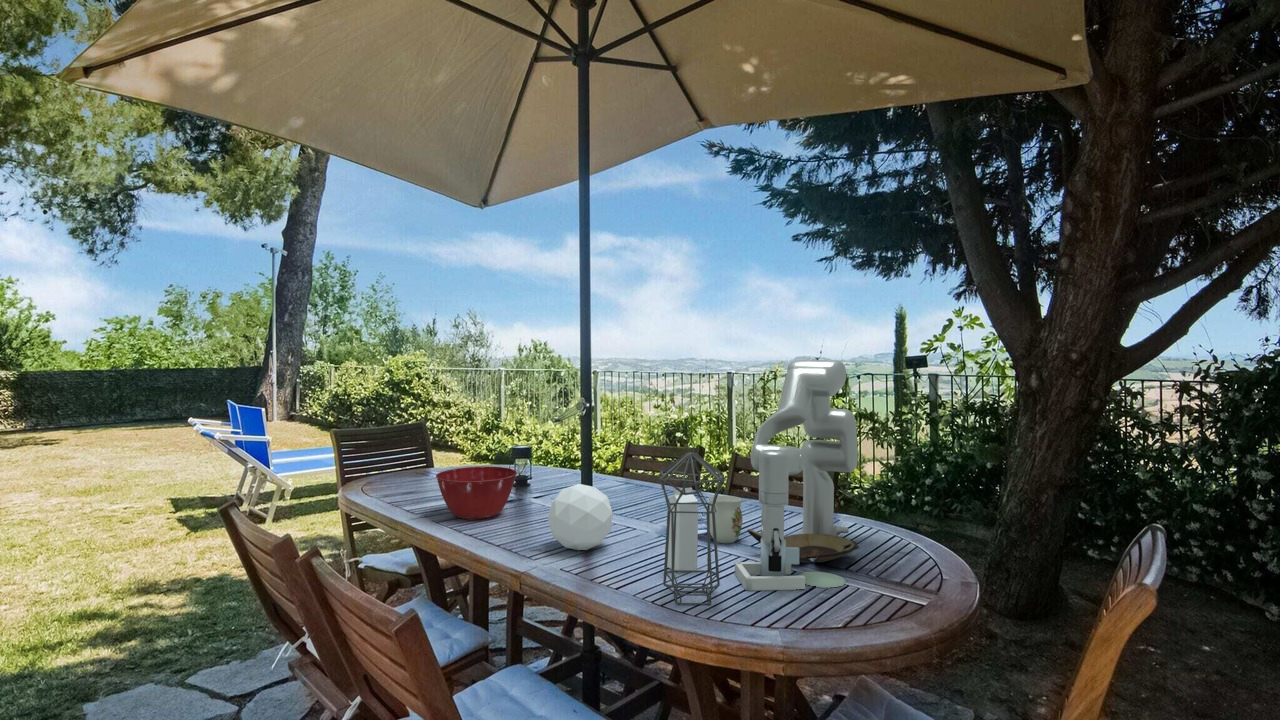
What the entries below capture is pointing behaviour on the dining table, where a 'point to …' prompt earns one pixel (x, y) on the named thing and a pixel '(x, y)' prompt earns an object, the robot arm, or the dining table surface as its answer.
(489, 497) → the mixing bowl
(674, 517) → the geometric lantern
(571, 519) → the ball
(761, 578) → the holder
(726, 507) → the pitcher
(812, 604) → the dining table surface
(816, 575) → the mat
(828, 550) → the oil lamp
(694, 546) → the milk
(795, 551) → the jug
